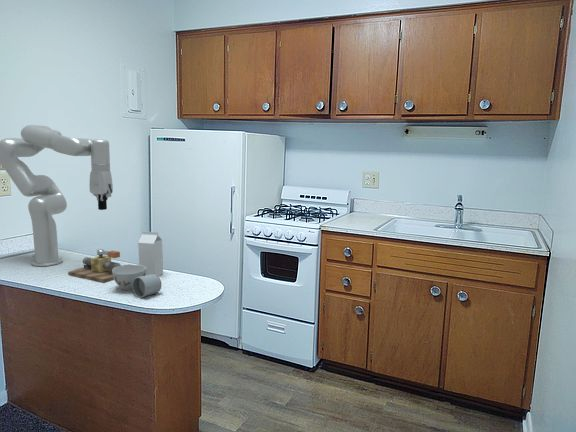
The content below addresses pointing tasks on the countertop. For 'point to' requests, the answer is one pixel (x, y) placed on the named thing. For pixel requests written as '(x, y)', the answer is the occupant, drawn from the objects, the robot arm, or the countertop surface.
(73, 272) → the stand
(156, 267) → the milk carton
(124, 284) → the teacup
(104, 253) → the valve lever
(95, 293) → the countertop surface
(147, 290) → the ceramic mug
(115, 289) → the countertop surface
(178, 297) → the countertop surface
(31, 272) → the countertop surface
